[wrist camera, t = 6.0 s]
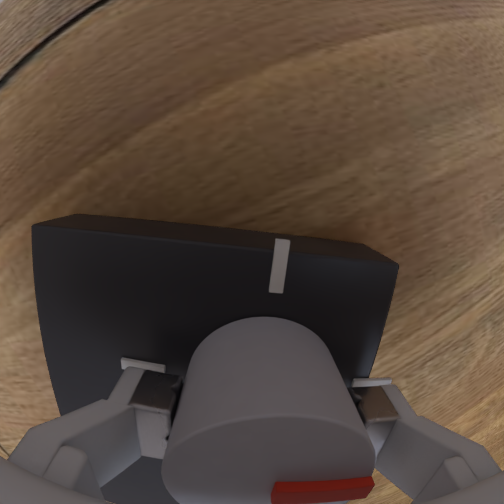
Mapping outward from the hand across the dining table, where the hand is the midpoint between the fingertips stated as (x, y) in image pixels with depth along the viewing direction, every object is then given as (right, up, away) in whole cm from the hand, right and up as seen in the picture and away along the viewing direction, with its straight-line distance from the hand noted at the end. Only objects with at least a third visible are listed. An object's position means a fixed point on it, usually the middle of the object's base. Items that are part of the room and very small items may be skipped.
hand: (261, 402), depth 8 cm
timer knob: (0, 0, +1) cm, 1 cm away
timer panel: (-2, -2, +5) cm, 5 cm away
